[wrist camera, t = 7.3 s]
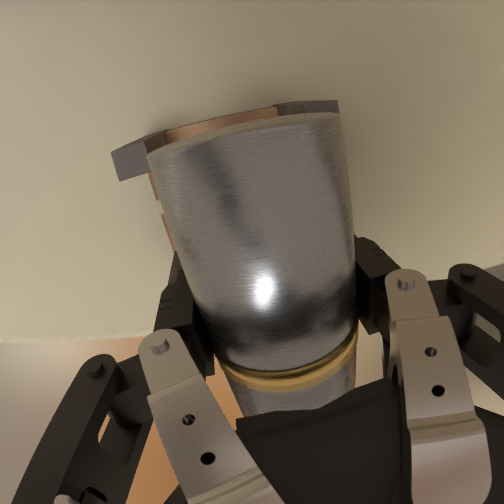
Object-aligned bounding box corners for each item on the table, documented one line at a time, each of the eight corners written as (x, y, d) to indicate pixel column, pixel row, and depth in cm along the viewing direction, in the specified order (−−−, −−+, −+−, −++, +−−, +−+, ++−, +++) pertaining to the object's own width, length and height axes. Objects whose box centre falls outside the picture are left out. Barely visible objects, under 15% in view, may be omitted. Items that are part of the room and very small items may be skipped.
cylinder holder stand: (180, 260, 23) (171, 322, 16) (142, 137, 18) (108, 153, 12) (317, 228, 23) (356, 277, 17) (297, 101, 19) (339, 100, 12)
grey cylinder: (162, 143, 10) (117, 174, 5) (308, 110, 10) (380, 116, 5) (237, 369, 15) (246, 458, 10) (336, 345, 15) (372, 426, 10)
